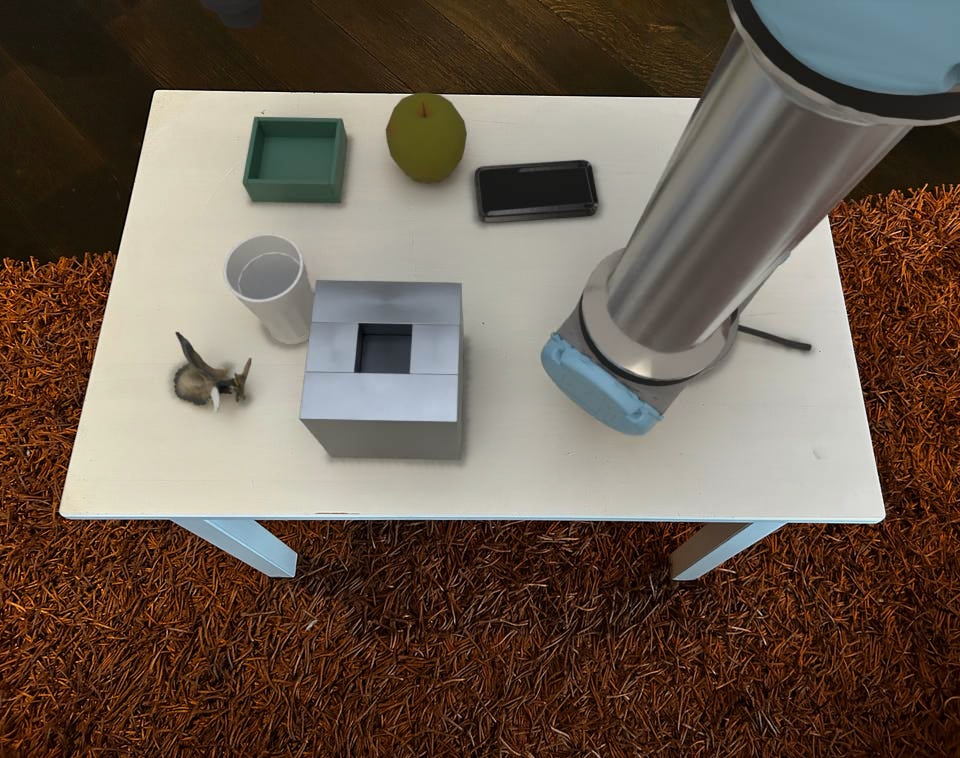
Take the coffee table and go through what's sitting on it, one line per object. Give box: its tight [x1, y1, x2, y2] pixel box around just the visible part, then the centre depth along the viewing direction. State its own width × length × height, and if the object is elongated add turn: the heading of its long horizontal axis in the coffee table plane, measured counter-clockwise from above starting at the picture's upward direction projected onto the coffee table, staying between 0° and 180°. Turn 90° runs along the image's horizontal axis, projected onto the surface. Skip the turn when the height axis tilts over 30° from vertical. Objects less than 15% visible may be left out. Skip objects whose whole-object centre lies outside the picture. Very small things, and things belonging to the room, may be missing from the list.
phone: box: [474, 159, 599, 223], centre depth 82 cm, size 8×1×15 cm
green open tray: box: [241, 116, 348, 204], centre depth 82 cm, size 11×10×4 cm
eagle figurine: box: [173, 331, 252, 413], centre depth 71 cm, size 8×7×9 cm
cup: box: [222, 232, 315, 345], centre depth 71 cm, size 8×8×12 cm
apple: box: [385, 91, 468, 184], centre depth 79 cm, size 10×10×11 cm
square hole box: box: [298, 279, 465, 461], centre depth 66 cm, size 14×14×14 cm
